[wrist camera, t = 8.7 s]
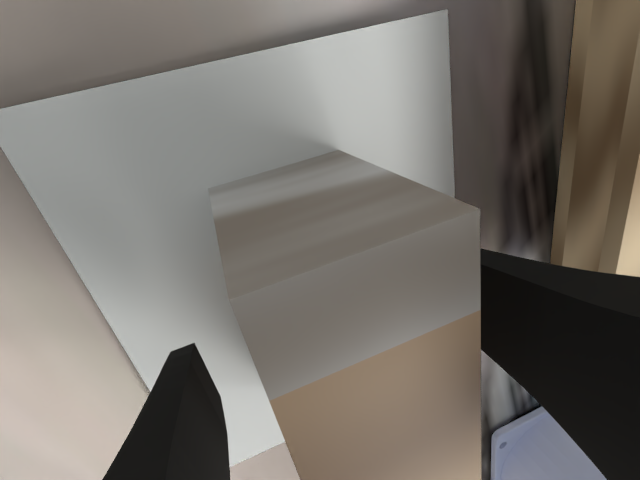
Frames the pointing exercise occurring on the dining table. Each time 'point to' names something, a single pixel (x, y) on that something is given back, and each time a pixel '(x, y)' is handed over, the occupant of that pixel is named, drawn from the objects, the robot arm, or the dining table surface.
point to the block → (359, 316)
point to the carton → (601, 143)
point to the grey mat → (220, 178)
